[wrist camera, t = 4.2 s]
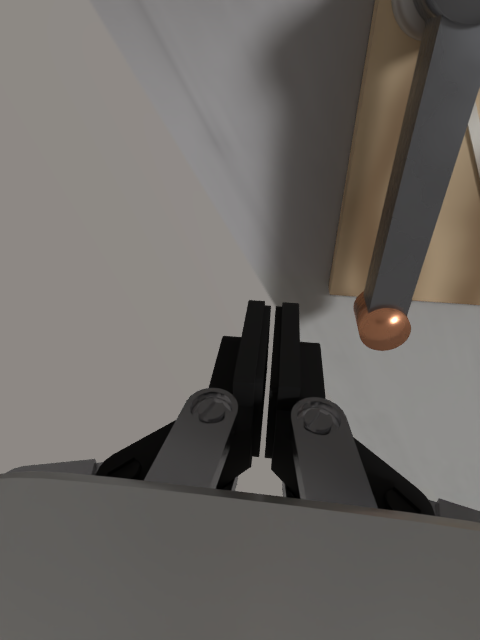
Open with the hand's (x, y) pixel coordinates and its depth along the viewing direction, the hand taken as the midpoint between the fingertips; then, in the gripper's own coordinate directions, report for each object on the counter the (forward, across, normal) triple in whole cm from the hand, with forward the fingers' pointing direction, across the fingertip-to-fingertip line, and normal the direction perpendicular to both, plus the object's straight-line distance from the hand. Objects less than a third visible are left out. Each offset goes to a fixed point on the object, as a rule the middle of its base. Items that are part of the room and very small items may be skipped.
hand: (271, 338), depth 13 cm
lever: (+14, -7, -3) cm, 16 cm away
